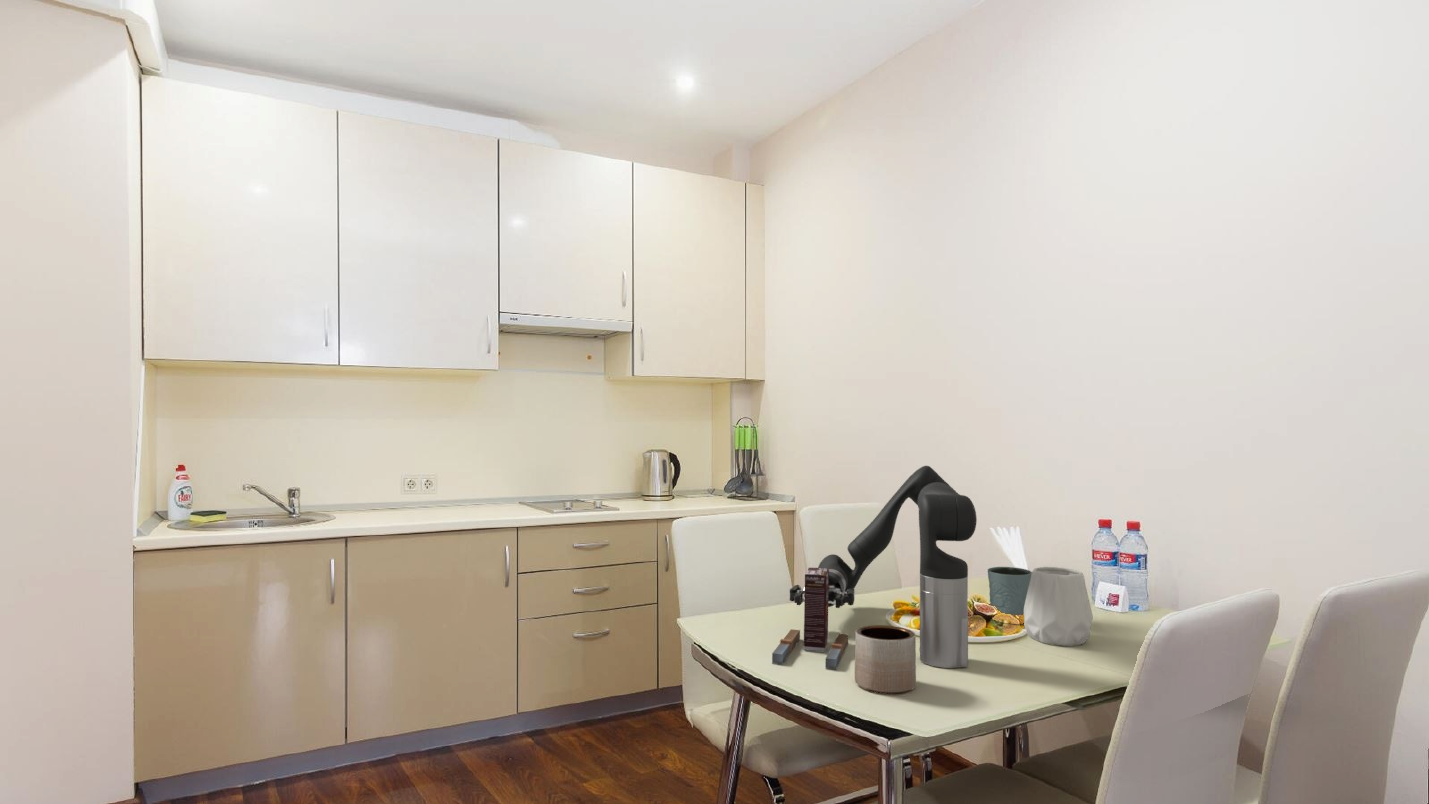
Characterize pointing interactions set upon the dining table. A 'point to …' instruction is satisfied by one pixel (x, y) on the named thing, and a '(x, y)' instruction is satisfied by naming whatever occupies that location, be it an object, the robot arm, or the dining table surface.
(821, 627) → the supplement box
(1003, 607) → the teal embossed flower pot
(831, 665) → the pair of brown-grey bars
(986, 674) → the dining table surface
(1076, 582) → the vase
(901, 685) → the planter
